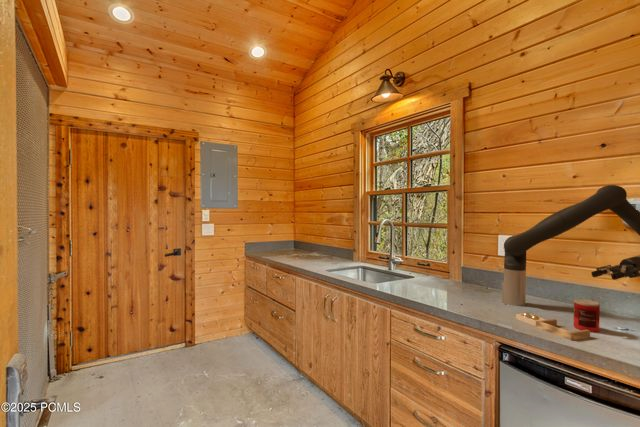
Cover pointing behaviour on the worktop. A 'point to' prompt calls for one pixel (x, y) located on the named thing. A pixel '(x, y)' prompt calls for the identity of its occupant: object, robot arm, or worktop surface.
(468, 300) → the worktop surface
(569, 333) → the birch holder
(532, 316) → the brass ball
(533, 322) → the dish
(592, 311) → the canned food
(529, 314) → the steel ball
